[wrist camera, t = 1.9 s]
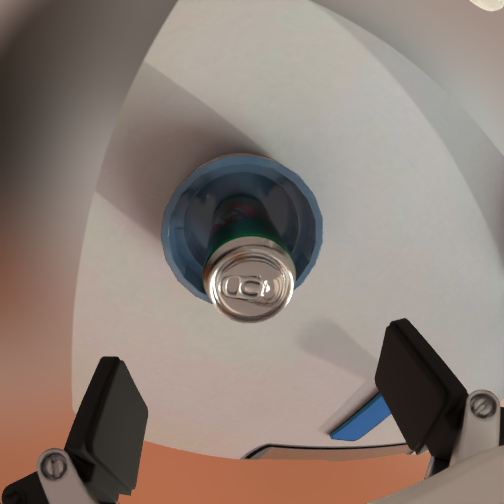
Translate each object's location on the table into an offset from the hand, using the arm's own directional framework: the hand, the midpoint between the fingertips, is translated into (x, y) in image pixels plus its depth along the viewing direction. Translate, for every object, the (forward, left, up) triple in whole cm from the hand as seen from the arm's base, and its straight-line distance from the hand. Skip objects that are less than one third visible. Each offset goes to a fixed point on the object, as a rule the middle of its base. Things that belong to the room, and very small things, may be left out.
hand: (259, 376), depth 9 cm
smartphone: (+35, +18, -18) cm, 43 cm away
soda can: (0, 0, -18) cm, 18 cm away
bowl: (0, 0, -18) cm, 18 cm away
